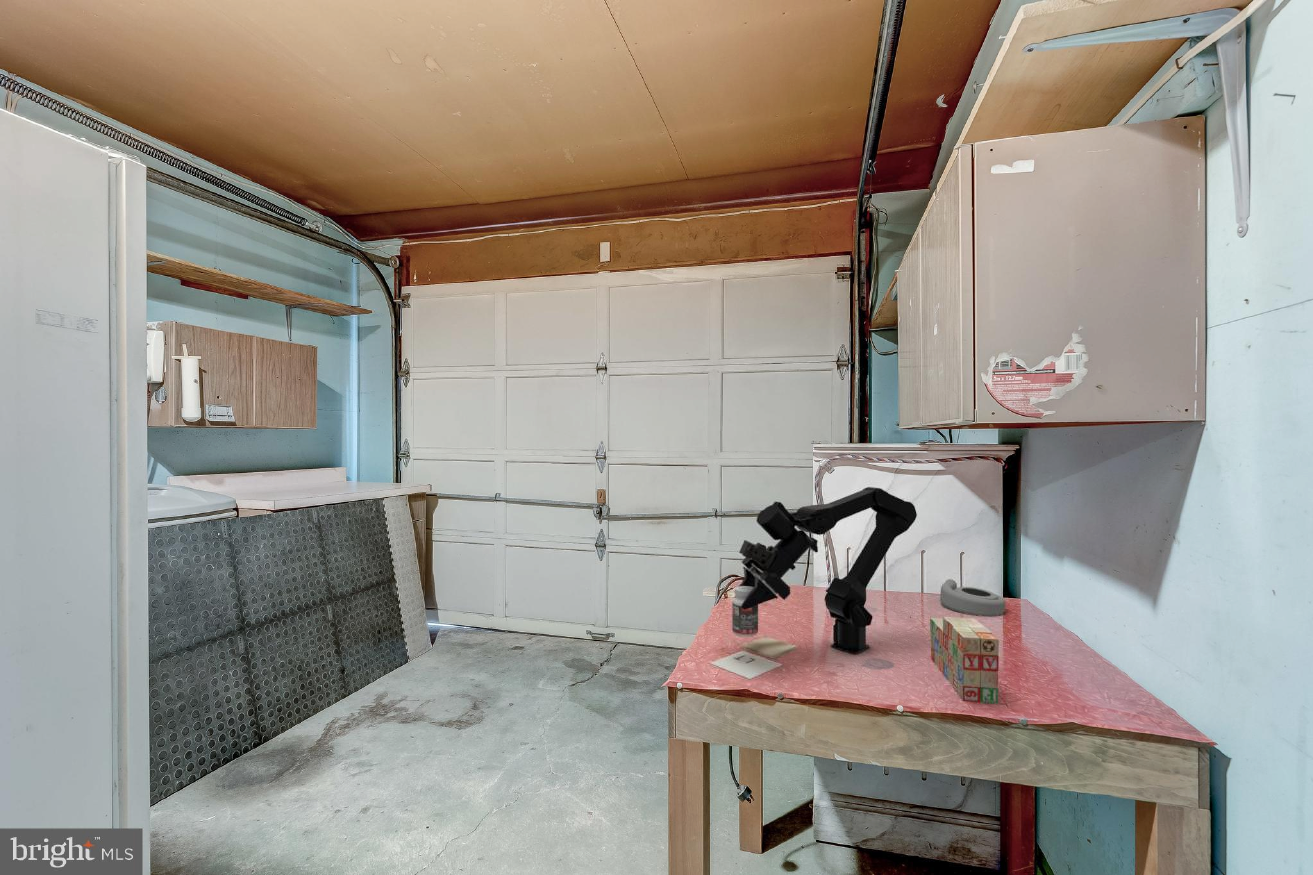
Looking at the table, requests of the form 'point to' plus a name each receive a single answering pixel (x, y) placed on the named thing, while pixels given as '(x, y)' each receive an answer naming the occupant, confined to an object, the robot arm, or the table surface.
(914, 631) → the table surface
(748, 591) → the pill bottle
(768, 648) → the oak coaster
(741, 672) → the card
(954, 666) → the stack of blocks
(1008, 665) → the table surface
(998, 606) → the turbocharger housing
